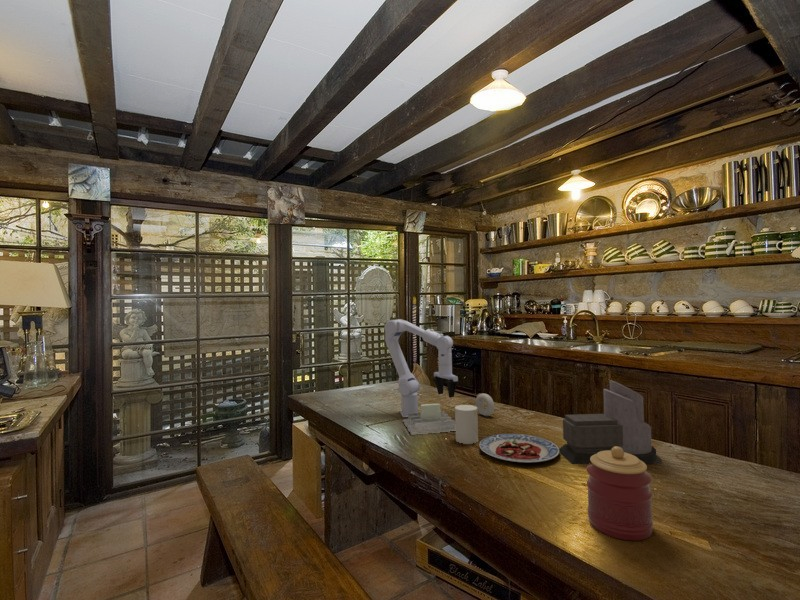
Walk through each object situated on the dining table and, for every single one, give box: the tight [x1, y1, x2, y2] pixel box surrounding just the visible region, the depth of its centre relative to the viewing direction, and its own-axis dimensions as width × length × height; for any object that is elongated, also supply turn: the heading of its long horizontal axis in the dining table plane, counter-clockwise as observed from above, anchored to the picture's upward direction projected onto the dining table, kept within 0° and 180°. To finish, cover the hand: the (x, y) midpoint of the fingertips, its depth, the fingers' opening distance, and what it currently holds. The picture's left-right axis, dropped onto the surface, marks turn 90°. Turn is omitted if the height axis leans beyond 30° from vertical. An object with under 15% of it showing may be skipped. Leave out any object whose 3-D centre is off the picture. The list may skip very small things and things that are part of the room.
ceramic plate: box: [478, 433, 560, 463], centre depth 136 cm, size 26×26×3 cm
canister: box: [586, 446, 654, 542], centre depth 91 cm, size 13×13×18 cm
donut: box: [475, 393, 495, 417], centre depth 179 cm, size 10×4×10 cm, turn 35°
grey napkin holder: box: [559, 379, 663, 466], centre depth 131 cm, size 30×16×24 cm, turn 91°
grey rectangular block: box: [419, 403, 442, 419], centre depth 166 cm, size 2×8×8 cm, turn 99°
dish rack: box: [402, 410, 456, 436], centre depth 166 cm, size 18×20×4 cm
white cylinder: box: [454, 404, 479, 445], centre depth 149 cm, size 8×8×12 cm
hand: (445, 395), depth 175 cm, fingers open, 7 cm apart
